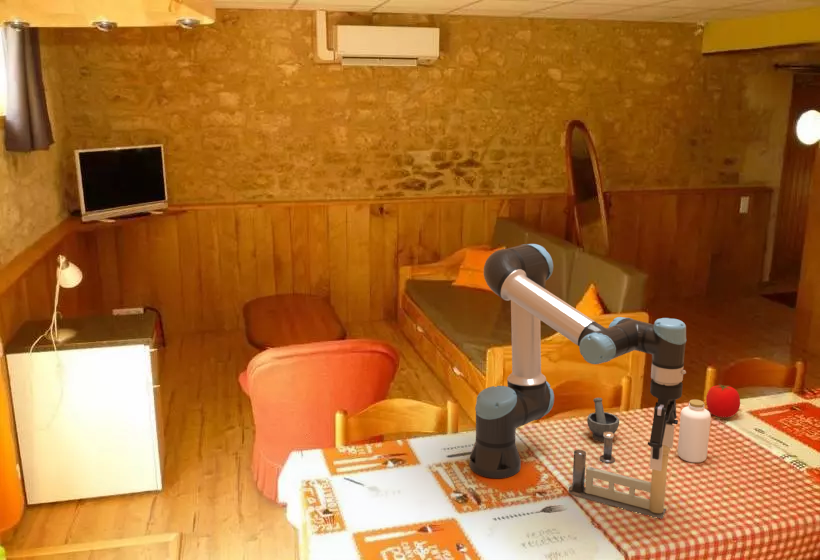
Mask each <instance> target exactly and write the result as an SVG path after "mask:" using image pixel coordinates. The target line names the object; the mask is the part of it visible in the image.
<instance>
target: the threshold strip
mask: <svg viewBox="0 0 820 560" xmlns="http://www.w3.org/2000/svg"><path fill="white" fill-rule="evenodd" d="M571 496H573V494H572V495H571ZM577 498H580V499H585V500H589V501H592V502H595V503H600V504H602V503H603V505H606V504H608V505H607V506H610V505H611V506H610V507H613V506H615V507H614V508H617V507H619V508H618V509H621V508H623V509H622V510H624V509H626V510H625V511H628V510H630V511H629V512H632V511H633V512H632V513H635V512H637V513H636V514H639V513H641V514H640V515H643V514H644V515H643V516H646V515H649V516H648V517H650V516H652V517H651V518H654V517H657V518H661V519H662V520H663V518H664V516H665V514H666V512H665V511H667V509H666V508H664V511H663V512H662V513H654V512H652V511H650V510H648V509H645V508H641V507H637V506H633V505H630V504H626V503H622V502H619V501H615V500H611V499H607V498H604V497H600V496H596V495H592V494H588V493H587V494H586V495H582V496H578V497H577ZM664 513H665V514H664ZM663 515H664V516H663ZM657 518H656V519H657ZM661 519H660V520H661Z"/></svg>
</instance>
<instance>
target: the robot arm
mask: <svg viewBox="0 0 820 560" xmlns="http://www.w3.org/2000/svg"><path fill="white" fill-rule="evenodd" d="M546 249H547V248H545V247H544V246H543V245H540V244H537V243H526V244H525V243H524V244H523V243H522V244H519V245H516V246H512V247H508V248H507V247H506V248H501V249H498V250H496V251H494V252H493V253H491V254H490V255H489V256H488V257H487V259H486V260H485V263H484V265H483V266H484V267H483V277H484V280H485V281H484V282H485V283H486V285H487V286H488V287H489V289H490V290H491V291H492V292H493V293H494V294H495V295H497V296H498V297H500V299H502V300H504V301H508V302H509V301H510V312H511V313H510V315H511V316H510V319H511V321H510V323H511V324H510V325H511V326H510V327H511V367H512V368H511V371H512V372H511V373H509V375H508V376H507V379H506V380H507V385H497V386H494V385H493V386H489V387H486V388H484V389H482V390H481V391H480V392H478V395H477V397H476V400H475V401H476V403H475V409H474V410H475V442H474V444H473V447H472V450H471V453H470V455H469V468H470V469H471V470H472V472H474V473H475V474H476V475H479V476H481V477H485V478H489V479H505V478H510V477H513V476H516V474H518V473H519V472H520V471H521V466H522V465H521V463H522V460H521V456H520V453H519V449H518V447H517V443H516V434H517V433H516V430H517V429H518V428H520V427H522V426H524V425H527V424H529V423H531V422H534V421H537V420H540V419H542V418H543V417H544V416H546V415H548V414H549V413H550V411H552V409H553V406H554V403H555V394H554V393H555V392H554V390H553V388H551V384H550V383H549V382H548V381H547V377H546V375H544V374H543V373H542V355H541V354H542V351H541V350H542V348H541V347H542V346H541V345H542V343H541V342H542V341H541V339H542V338H541V322H543V323H544V324H545V325H547V326H548V327H550V328H551V329H553V330H554V331H556V332H557V333H558V334H560V335H562V337H564V338H566V339H567V340H569V341H570V342H572V343H573V344H574V345H576V346H578V348H579V353H580V355H582V357H583V360H584V361H586V362H587V363H589V364H591V365H600V364H603V363H608V362H610V361H612V360H614V359H615V358H619V357H621V356H623V355H626V354H628V353H630V352H633V351H637V352H640V353H641V352H642V353H645V354H648V355H649V354H650V355H651V368H650V371H651V372H650V378H651V380H650V389H649V392H650V395H652V397H654V398H656V399H657V401H656V402H655V406H654V408H653V418H652V425H651V431H650V438H649V441H648V442H647V446H649V447H650V455H649V456H650V458H649V460H650V461H649V469H650V470H652V469H653V470H658V471H661V470H662V455H663V446H662V445H665V446H667V447H669V448H670V450H673V448H674V437H675V436H674V435H675V425H678V423H679V422H678V421H679V420H677V418H678V417H677V403H676V402H677V401H676V400H679V399H680V398H681V397H682V396H683V385H684V384H683V382H682V381H683V380H684V379H683V378H684V375H685V374H687V371H686V369H684V365H685V353H686V343H687V325H686V324H685V322H683V321H682V320H680V319H677V318H670V317H662V318H657V319H656V320H655V321H654V323H653V324H652V323H649V322H645V321H641V320H637V319H633V318H631V317H622V316H617V317H615V318H613V319H612V321H611V322H610V324H609V325H608V327H605V326H603V325H601V324H599V323H598V322H597V321H595V320H594V319H592V318H590V317H589V316H587V315H586V314H584V313H583V312H582V311H580V310H578V309H576V308H575V307H573V306H572V305H570V304H569V303H567V302H566V301H565V300H563V299H561V298H560V297H558V296H556V295H555V294H554V293H553V292H550V291H549V290H548V289H547V288H546V282H547V280H549V279H550V277H551V276H552V274H553V271H554V261H553V259H552V256H551V254H550V253H549V252H548V251H547V250H546Z"/></svg>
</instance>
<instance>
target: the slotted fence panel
mask: <svg viewBox="0 0 820 560" xmlns="http://www.w3.org/2000/svg"><path fill="white" fill-rule="evenodd" d="M662 446H663V455H662V470H661V471H658V470H653V469H651V478H650V479H651V481H647V480H645V479H639V478H636V477H631V476H628V475H623V474H620V473H616V472H615V473H614V472H611V471H607V470H604V469H600V468H594V467H592V466H587V467H586V468H585V484H584V487H585V493H588V494H592V495H596V496H600V497H604V498H607V499H611V500H615V501H619V502H622V503H626V504H630V505H633V506H637V507H641V508H645V509H648V510H650V511H652V512H654V513H662V512H663V511H664V509H665V501H666V500H665V497H666V488H667V486H666V485H667V475H668V464H669V463H668V462H669V460H668V459H669V454H670V453H671V448H669V447H667V446H665V445H662ZM594 479H596V480H600V481H602V482H603V481H604V482H607V483H608V487H603V486H600V485H597V484H594ZM615 485H618V486H619V485H620V486H622V487H626V488H628V493H626V492H624V491H621V490H620V491H619V490H615ZM636 490H639V491H643V492H646V493H649V494H650V495H649V498H646V497H642V496H638V495H635V493H636Z"/></svg>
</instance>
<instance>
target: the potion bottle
mask: <svg viewBox="0 0 820 560" xmlns="http://www.w3.org/2000/svg"><path fill="white" fill-rule="evenodd" d="M711 415H712V414H711V412H710V411H709V409H706V408H705V403H704V401H703V400H700V399H690V400H689V402H688V406H684V407H683V408H682V409H681V411H680V418H679V429H678V431H679V432H678V440H677V441H678V443H677V455H678V457H680V459H681V460H684V461H685V462H689V463H695V464H696V463H697V464H698V463H702V462H704V461H706V460H707V458H708V450H709V449H708V447H709V439H710V428H711V427H710V426H711V420H712V419H711V418H712V416H711Z"/></svg>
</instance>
